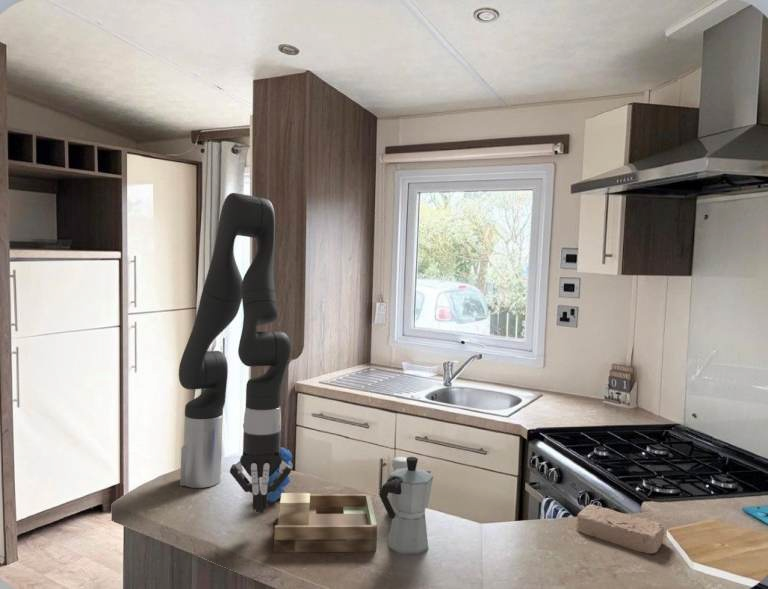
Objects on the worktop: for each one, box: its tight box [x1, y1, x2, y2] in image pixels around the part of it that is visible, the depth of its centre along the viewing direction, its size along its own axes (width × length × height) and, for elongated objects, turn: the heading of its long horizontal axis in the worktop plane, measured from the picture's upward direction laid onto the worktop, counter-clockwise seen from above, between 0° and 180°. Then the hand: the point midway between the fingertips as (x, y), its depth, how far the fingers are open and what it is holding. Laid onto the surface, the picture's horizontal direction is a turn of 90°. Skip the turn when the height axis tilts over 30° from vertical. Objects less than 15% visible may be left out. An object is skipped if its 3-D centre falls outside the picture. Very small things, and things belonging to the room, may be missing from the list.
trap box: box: [273, 493, 378, 553], centre depth 117 cm, size 20×16×5 cm
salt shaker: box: [387, 456, 408, 510], centre depth 128 cm, size 6×6×13 cm
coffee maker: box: [378, 456, 434, 556], centre depth 113 cm, size 15×9×18 cm, turn 134°
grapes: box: [267, 446, 294, 503], centre depth 134 cm, size 12×7×12 cm, turn 165°
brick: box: [575, 504, 665, 555], centre depth 122 cm, size 17×8×5 cm, turn 51°
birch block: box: [278, 492, 311, 525], centre depth 116 cm, size 6×5×5 cm
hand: (259, 510), depth 116 cm, fingers closed
